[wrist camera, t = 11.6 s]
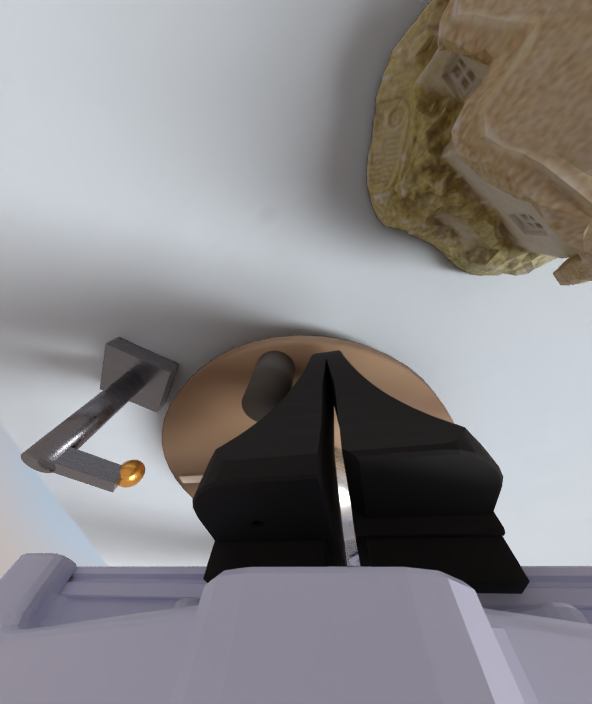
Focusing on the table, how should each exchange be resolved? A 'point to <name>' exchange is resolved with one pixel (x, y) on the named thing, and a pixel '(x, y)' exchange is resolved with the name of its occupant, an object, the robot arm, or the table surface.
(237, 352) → the turntable
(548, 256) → the ceramic model
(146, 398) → the grey bent lever
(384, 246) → the table surface
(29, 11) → the table surface
